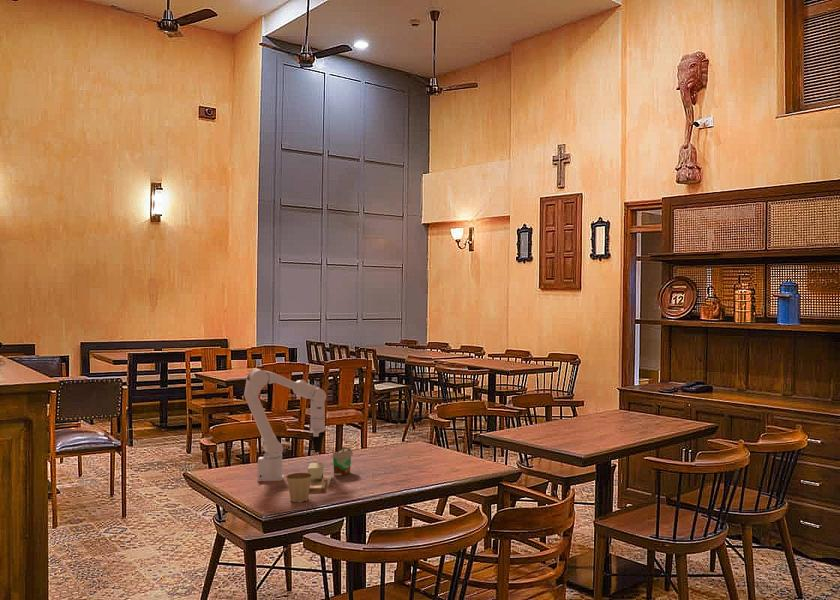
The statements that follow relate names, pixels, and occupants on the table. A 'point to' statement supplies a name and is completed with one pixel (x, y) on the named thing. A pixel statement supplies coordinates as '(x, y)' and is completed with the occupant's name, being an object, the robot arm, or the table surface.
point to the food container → (342, 461)
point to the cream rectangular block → (316, 470)
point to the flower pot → (299, 486)
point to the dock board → (319, 485)
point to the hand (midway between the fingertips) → (317, 451)
